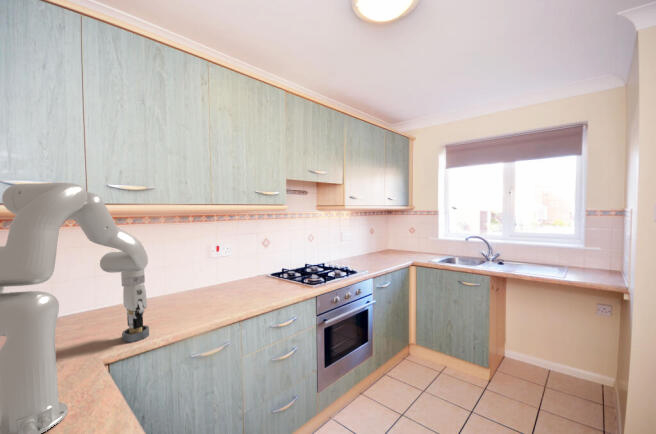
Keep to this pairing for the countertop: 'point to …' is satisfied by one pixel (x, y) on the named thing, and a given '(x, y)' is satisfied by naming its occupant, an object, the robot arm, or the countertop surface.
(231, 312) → the countertop surface
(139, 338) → the socket collar
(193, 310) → the countertop surface
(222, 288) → the countertop surface
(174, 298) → the countertop surface
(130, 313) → the sprinkles bottle
